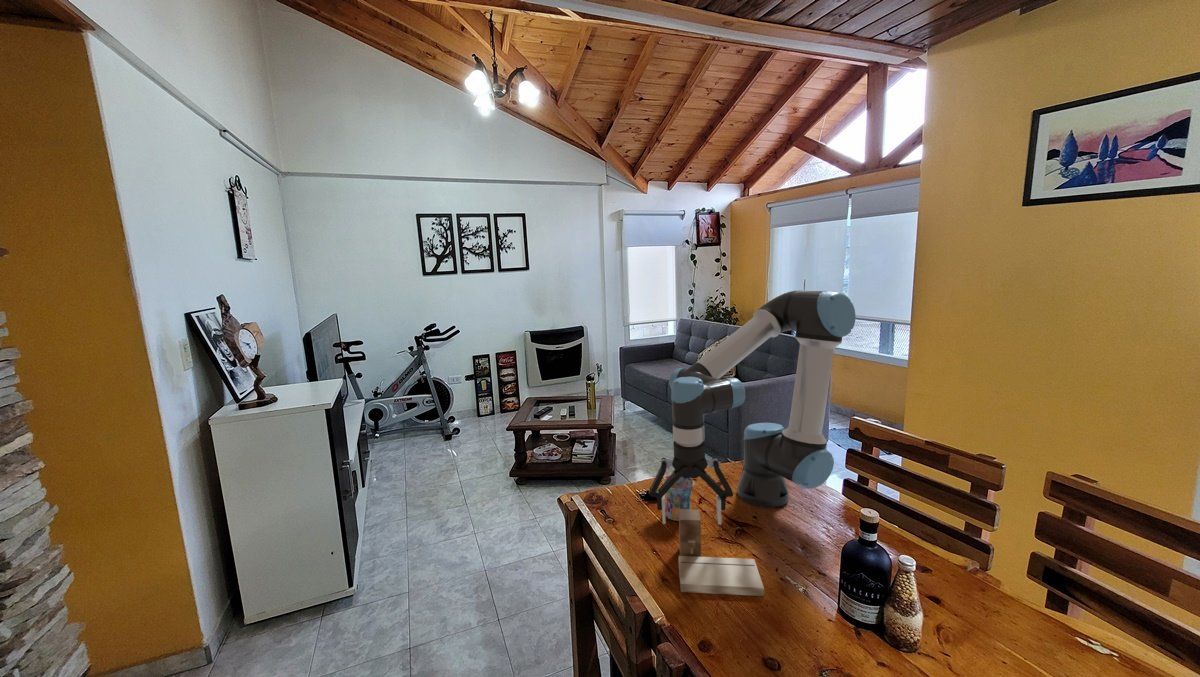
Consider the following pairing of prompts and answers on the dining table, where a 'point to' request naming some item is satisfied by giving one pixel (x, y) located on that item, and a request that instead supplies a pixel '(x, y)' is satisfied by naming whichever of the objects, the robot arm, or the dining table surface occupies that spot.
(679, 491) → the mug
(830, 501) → the dining table surface
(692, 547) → the brown box
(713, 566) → the board
